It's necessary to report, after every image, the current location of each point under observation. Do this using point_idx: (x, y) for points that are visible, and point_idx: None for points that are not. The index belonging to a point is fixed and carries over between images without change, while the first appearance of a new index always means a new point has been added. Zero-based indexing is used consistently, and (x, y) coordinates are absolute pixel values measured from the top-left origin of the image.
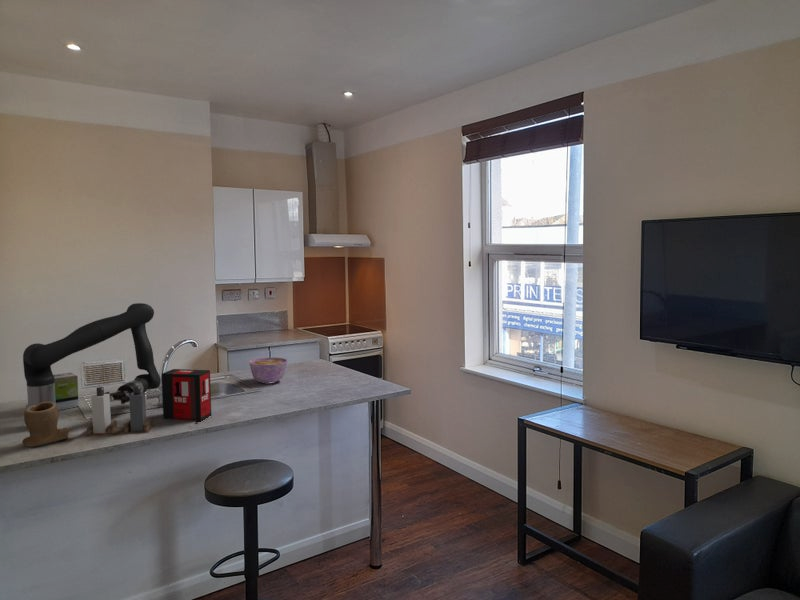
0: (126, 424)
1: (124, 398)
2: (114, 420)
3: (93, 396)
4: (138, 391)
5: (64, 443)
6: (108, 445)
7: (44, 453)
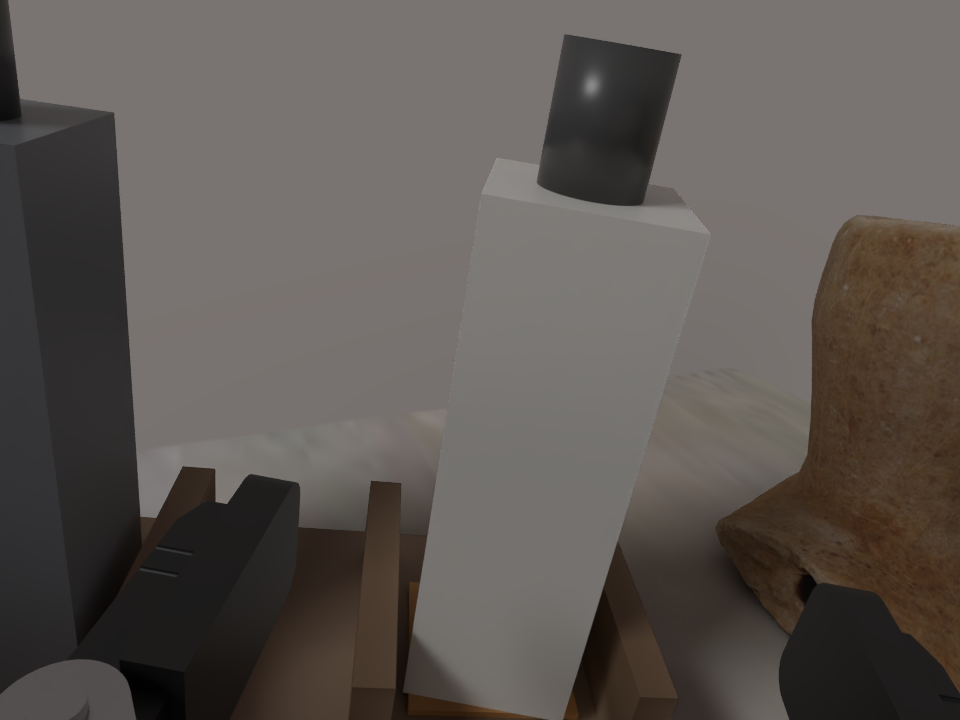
0: (189, 497)
1: (212, 536)
2: (382, 677)
3: (661, 191)
4: None
5: (694, 526)
6: (328, 429)
7: (682, 421)
